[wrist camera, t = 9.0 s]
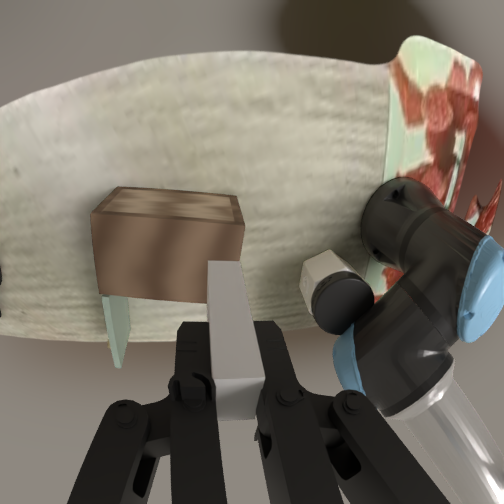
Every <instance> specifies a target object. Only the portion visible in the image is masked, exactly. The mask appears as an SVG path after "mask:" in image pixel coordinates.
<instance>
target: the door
mask: <svg viewBox="0 0 504 504" xmlns="http://www.w3.org/2000/svg"><path fill="white" fill-rule="evenodd" d="M101 297H102V304H103V310H104V316H105V322H106V327H107V332H108V338H109V339H108V344H107V345H108V348H109V349H111V352H112V356H113V360H114V364H115V367H116V368H122V363H123V358H124V354H125V350H126V346H127V342H128V337H129V333H130V330H131V327H130V318H129V308H128V297H123V296H114V295H105V294H102V296H101Z"/></svg>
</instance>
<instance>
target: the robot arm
mask: <svg viewBox="0 0 504 504" xmlns="http://www.w3.org/2000/svg"><path fill="white" fill-rule="evenodd" d="M361 236H362V241H363V244H364V246H365V248H366V250H367V251H368V252H369V253H370V254H371V256H372V257H373V258H374V259H375V260H376V261H378V262H379V263H381V264H383V265H385V266H388V267H390V268H393V269H395V270H398V271H400V272H403V273H404V275H403V276H402V277H401V278H400V279H399V280H398V281H397V282H396V283H395V284H394V285H393V286H392V287H391V288H390V289H389V290H388V291H387V292H386V293H385V294H384V295H383V296H382V297H381V298H380V299H379V300H378V301H377V302H376V303H375V304H374V305H373V306H372V307H371V308H370V309H369V310H368V311H367V312H366V313H364V314H363V315H362V316H361V317H360V318H359V319H358V320H357V321H356V322H355V321H354V323H352V324H351V326H350V327H349V328H348V329H347V330H346V331H345V332H344V333H343V334H342V335H340V336H339V337H338V339H337V340H336V342H335V344H334V347H333V360H334V361H333V362H334V367H335V370H336V373H337V376H338V378H339V381H340V383H341V385H342V387H343V389H344V391H341V392H340V393H338V394H337V395H336V396H335V397H332V396H324V395H318V394H313V393H311V392H309V391H307V390H306V389H305V388H304V387H302V386H301V385H300V384H299V382H298V380H297V378H296V375H295V372H294V369H293V365H292V362H291V359H290V356H289V353H288V350H287V346H286V343H285V341H284V337H283V334H282V331H281V329H280V328H279V326H278V325H277V324H276V323H275V322H274V321H253V319H252V314H251V310H250V305H249V300H248V296H247V291H246V286H245V282H244V277H243V272H242V267H241V263H240V261H208V278H207V322H183V323H182V324H181V326H180V327H179V329H178V330H177V343H176V356H175V374H174V375H173V376H172V378H171V379H170V381H169V384H168V389H169V395H168V396H167V397H166V398H164V399H163V400H161V401H158V402H155V403H150V404H146V405H141V404H139V403H137V402H135V401H132V400H120V401H116V402H115V403H113V404H111V405H110V406H109V408H108V409H107V410H106V412H105V415H104V417H103V419H102V421H101V423H100V425H99V428H98V430H97V432H96V434H95V436H94V439H93V441H92V443H91V446H90V448H89V450H88V453H87V455H86V457H85V460H84V462H83V464H82V467H81V469H80V472H79V474H78V476H77V479H76V482H75V484H74V487H73V489H72V492H71V495H70V497H69V500H68V503H67V504H147V501H148V497H149V494H150V490H151V487H152V483H153V480H154V477H155V473H156V470H157V467H158V463H159V460H160V457H161V456H165V455H170V459H171V460H170V461H171V462H170V463H171V492H172V493H171V495H172V504H227V498H226V491H225V483H224V475H223V467H222V460H221V450H220V440H219V431H218V421H226V420H227V421H228V420H247V419H255V415H257V420H258V426H257V430H256V433H255V437H254V441H257V440H258V443H259V448H260V453H261V459H262V464H263V469H264V474H265V479H266V484H267V489H268V494H269V499H270V504H344V503H343V500H342V496H341V493H340V490H339V487H340V488H341V490H342V491H343V493H344V495H345V496H346V498H347V499H348V500H349V502H350V504H450V503H449V501H448V500H447V499H446V497H445V496H444V495H443V494H442V492H441V491H440V490H439V488H438V487H437V486H436V485H435V483H434V482H433V481H432V480H431V478H430V477H429V476H428V474H427V473H426V472H425V471H424V469H423V468H422V467H421V466H420V464H419V463H418V462H417V460H416V459H415V458H414V456H413V455H412V454H411V453H410V451H409V450H408V449H407V447H406V446H405V445H404V444H403V442H402V441H401V440H400V439H399V437H398V436H397V435H396V433H395V432H394V431H393V430H392V428H391V427H390V426H389V425H388V424H387V422H386V421H385V419H384V418H383V417H382V416H381V414H380V413H379V412H378V410H377V408H378V409H379V410H380V411H381V413H382V414H383V415H384V417H385V418H386V419H397V420H402V421H403V422H404V424H405V425H406V426H407V428H408V429H409V431H410V432H411V433H412V435H413V436H414V437H415V439H416V440H417V441H418V443H419V444H420V446H421V447H422V448H423V450H424V451H425V453H426V454H427V455H428V457H429V458H430V459H431V461H432V462H433V464H434V465H435V466H436V468H437V469H438V471H439V472H440V474H441V475H442V476H443V478H444V479H445V480H446V482H447V483H448V485H449V486H450V488H451V489H452V491H453V492H454V493H455V495H456V496H457V498H458V499H459V500H460V502H461V503H462V504H504V456H503V454H502V452H501V450H500V449H499V447H498V445H497V444H496V442H495V440H494V439H493V437H492V435H491V434H490V432H489V430H488V429H487V427H486V426H485V424H484V422H483V421H482V419H481V418H480V416H479V415H478V413H477V412H476V410H475V409H474V407H473V406H472V404H471V403H470V401H469V400H468V398H467V397H466V395H465V394H464V392H463V391H462V390H461V388H460V387H459V385H458V384H457V383H456V381H455V380H454V378H453V371H454V365H455V360H454V358H453V357H452V356H451V354H450V353H449V352H448V349H449V348H450V347H451V346H452V345H453V344H454V343H455V342H456V341H457V340H458V339H459V338H460V340H461V341H465V342H467V343H471V342H473V341H475V340H477V339H478V337H479V336H482V335H483V334H484V333H485V332H486V331H487V330H488V329H489V327H490V326H491V325H492V323H493V322H494V321H495V319H496V318H497V316H498V314H499V313H500V311H501V309H502V307H503V305H504V249H503V248H502V247H501V246H500V245H499V244H497V243H496V242H495V241H494V239H493V238H492V237H491V236H489V235H486V234H485V233H483V232H482V231H480V230H479V229H477V228H476V227H474V226H473V225H471V224H470V223H468V222H467V221H465V220H463V219H461V218H460V217H459V216H457V215H455V214H454V213H452V212H450V211H449V210H447V209H445V207H444V206H443V205H442V204H441V202H440V201H439V200H438V198H437V197H436V196H435V194H434V193H433V192H432V191H431V190H430V188H428V187H427V186H426V185H425V184H423V183H421V182H419V181H417V180H415V179H413V178H409V177H400V178H396V179H393V180H391V181H389V182H387V183H385V184H384V185H383V186H382V187H380V188H379V189H378V190H377V191H376V192H375V194H374V195H373V196H372V198H371V199H370V201H369V203H368V204H367V206H366V209H365V211H364V214H363V218H362V223H361ZM402 288H403V289H404V290H403V289H402ZM409 296H410V297H411V298H412V299H411V298H410V297H409ZM415 303H416V304H417V305H418V306H417V305H416V304H415ZM421 310H422V311H423V312H422V311H421ZM426 316H427V317H426ZM430 321H431V322H430ZM434 326H435V327H434ZM442 336H443V337H442ZM338 485H339V487H338Z"/></svg>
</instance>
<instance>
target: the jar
mask: <svg viewBox="0 0 504 504" xmlns="http://www.w3.org/2000/svg"><path fill="white" fill-rule="evenodd" d="M299 287H300V290H301V293H302V295H303V298H304V300H305V303H306V306H307V308H308V311H309V313H310V314H311V315H313V316H314V319H315V320H316V322H317V324H318V325H319V327H320V328H321V329H323V330H324V331H325V332H327V333H330V334H335V335H342V334H343V333H344V332H345V331H346V330H347V329H348V328H349V327H350V326H351V324H352V323H354V321H355V322H356V321H357V320H358V319H359V318H360V317H361V316H362V315H363V314H364V313H366V312H367V311H368V310H369V309H370V308H371V307H372V306H373V305H374V294H373V291H372V289H371V288H370V286H369V284H368V283H367V282H366V281H365V280H364V279H363V278H362V277H361V276H360V275H359V274H358V272H357V271H356V270H355V269H354V268H353V267H352V266H351V265H350V264H349V263H347V262H346V261H345V260H343V259H342V258H341V257H340V256H338V255H337V254H336V253H334V252H333V251H332V250H330V249H329V250H327V251H325V252H323V253H321V254H318V255H316V256H314V257H312V258H310V259H308V260H306V261H304V262H303V267H302V272H301V278H300V284H299Z"/></svg>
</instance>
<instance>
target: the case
mask: <svg viewBox="0 0 504 504" xmlns="http://www.w3.org/2000/svg"><path fill="white" fill-rule="evenodd" d="M90 218H91V231H92V242H93V252H94V260H95V268H96V275H97V282H98V288H99V294H105V295H114V296H123V297H133V298H143V299H153V300H165V301H177V302H191V303H206V304H207V278H208V261H240V255H241V249H242V243H243V237H244V231H245V223H244V220H243V216H242V213H241V210H240V206H239V203H238V200H237V196H233V195H223V194H213V193H203V192H192V191H180V190H167V189H152V188H136V187H117V188H116V189H115V190H114V191H113V192H112V193H111V194H110V195H109V196H108V197H107V198H106V199H105V200H104V201H102V202H101V203H100V204H99V205H98V207H97V208H96V209H95V210H94V211H93V212H92V213H91V214H90Z"/></svg>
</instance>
